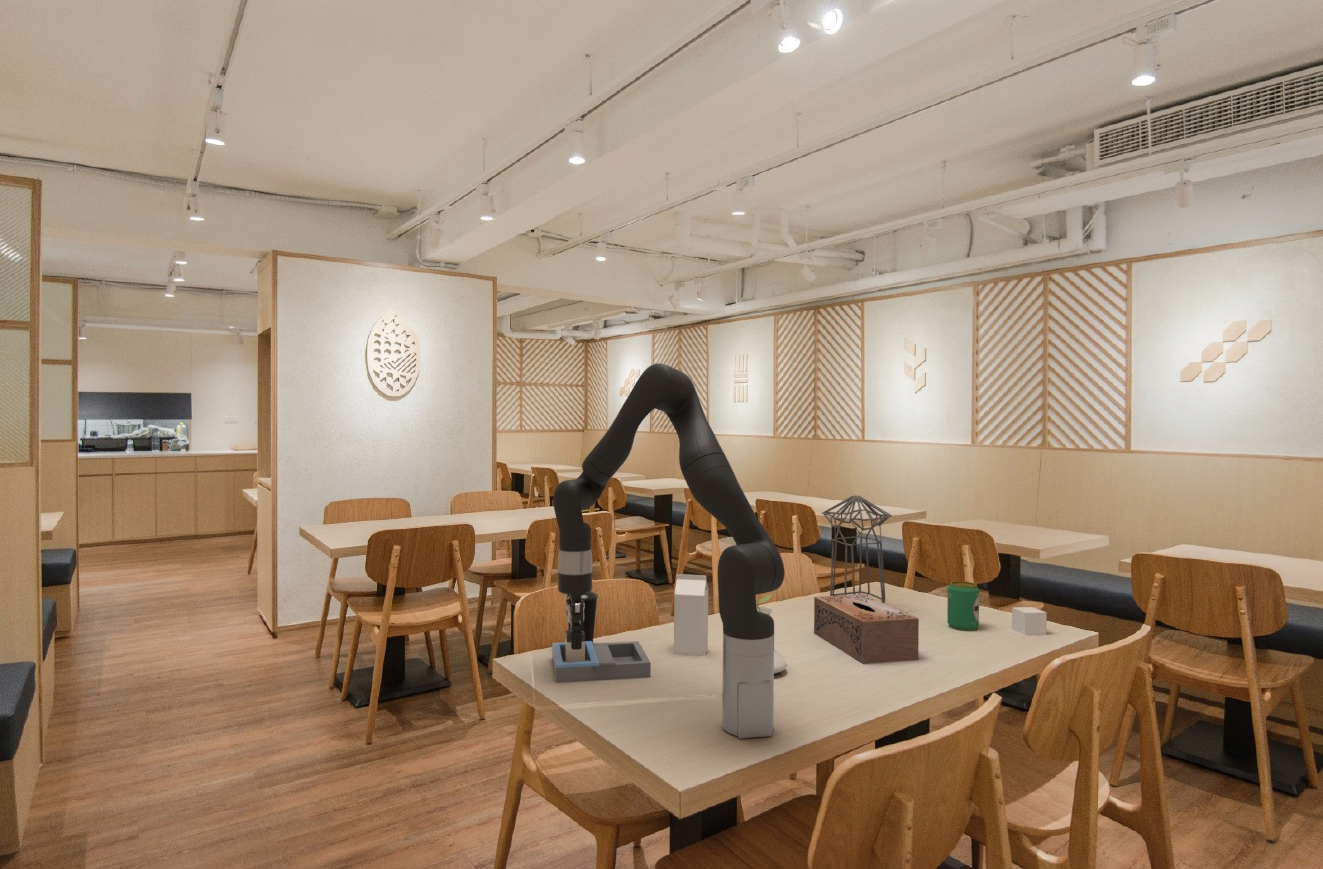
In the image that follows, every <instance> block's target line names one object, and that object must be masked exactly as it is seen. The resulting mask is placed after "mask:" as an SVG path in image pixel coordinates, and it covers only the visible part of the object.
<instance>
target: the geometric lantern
mask: <svg viewBox="0 0 1323 869" xmlns="http://www.w3.org/2000/svg"><path fill="white" fill-rule="evenodd" d="M856 503H857V507H858V509H856V510H855V506H856ZM843 504H844V505H843ZM840 506H841V507H840ZM838 507H840V508H839V509H838V510H837V511H833V510H834V509H836V508H838ZM861 507H862V508H863V509H862V508H861ZM846 510H847V511H846ZM863 511H864V512H865V513H866V514H867V516H868V518H863V514H862V512H863ZM854 513H856V514H855V515H854V516H853V514H854ZM821 514H822V515H823V516H824V517H825V518H826V519H827V521H828V522H829V524H830V526H831V527H832V528H834V538H832V539H831V541H832V542H831V560H830V563H831V567H830V587H829V588H830V591H829V596H840V595H857V594H858V595H860V594H864V595H867V596H869V595H870V597H871V596H872V597H873V598H876V599H879V600H881V602H882V603H885V604H886V601H887V600H886V586H885V571H884V570H885V569H884V556H883V544H882V543H883V540H882V528H881V526H882V525H883V524H884V523H885V522H886V521H887V520H889V518H890V517H892V516H893V515H892V514H890V513H888V512H887V511H886V510H883V509H882V508H881V507H880V506H877V505H875V504H874V503H872V502H871V501H869V500H867V499H866V498H864V497H862V496H861V495H851V496H849V497H847V498H846V499H845V500H842V501H841V502H839V503H837V504H835V505H833V506H832V507H830V508H828V509H826V510H824V511H823V512H821ZM843 515H844V517H843ZM848 515H849V518H848ZM872 515H873V516H875V518H873V516H872ZM828 516H829V517H830V518H829V517H828ZM858 516H859V517H858ZM833 520H834V523H833ZM878 520H879V521H878ZM837 521H838V522H839V523H838V524H837ZM856 521H861V525H859V523H857V522H856ZM868 521H870V525H871V526H870V527H864V522H868ZM843 523H845V524H852V526H853V527H854V528H855V530H857V532H858V535H856V536H847V537H846V536H844V535H843V533H842V531H841V526H842V524H843ZM877 526H878V527H879V537H880V540H879V539H878V537H877V535H876V532H875V527H877ZM857 527H858V528H857ZM836 529H837V530H836ZM859 529H860V530H861V531H860V530H859ZM867 530H868V531H867ZM864 531H867V533H866V535H865V536H864V535H862V533H863V532H864ZM871 531H872V534H873V536H874V538H875V539H874V538H871V537H869V536H870V533H871ZM839 535H840V536H841V537H838V536H839ZM846 539H854V540H853V542H852V544H851V543H847V541H846ZM858 539H859V543H856V541H857V540H858ZM863 539H865V542H863ZM839 540H843V541H839ZM868 540H872V541H875V542H868ZM838 543H839V544H842V545H845V546H844V547H845V548H844V549H845V553H844V554H845V556H844V561H845V562H844V592H839V593H835V586H836V585H835V584H836V582H835V580H836V566H837V565H836V564H837V554H838V553H837V552H838ZM868 545H876V549H877V560H878V561H877V562H878V573H879V584H880V594H881V595H880V596H881V597H880V596H878V595H875V594H874V593H871V591H870V590H871V588H870V587H871V586H870V566H869V563H870V562H869V547H868ZM854 546H859V577H858V578H859V579H858V580H859V583H858V584H859V585H858V590H857V591H856V585H855V584H856V582H855V581H856V580H855V562H854ZM863 546H865V556H866V578H867V592H866V591H862V563H863V562H862V560H863V559H862V554H863V553H862V552H863ZM848 547H850V551H851V555H850V556H851V571H852V572H851V574H852V576H851V577H852V591H850V592H847V588H848V587H847V582H848V581H847V580H848V579H847V578H848V577H847V576H848Z"/></svg>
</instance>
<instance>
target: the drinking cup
mask: <svg viewBox="0 0 1323 869" xmlns="http://www.w3.org/2000/svg"><path fill="white" fill-rule="evenodd" d="M581 598H583V599H584V601H585V608H584V621H583V627H584V629H583V630H584V633H585V641H592V644H594V634H595V624H596V613H597V612H596V611H597V603H598V598H599V594H598V593H596V592H594V591H593V590H591V591H590V592H589V593H583V594H582V595H581ZM566 599H567V595H566ZM578 625H580V623H578Z"/></svg>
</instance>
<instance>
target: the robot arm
mask: <svg viewBox="0 0 1323 869" xmlns="http://www.w3.org/2000/svg"><path fill="white" fill-rule="evenodd" d="M654 409H655V410H658V411H661V412H663V413H664V414H666V416H667V418H668V419H669V421H670V422H671V424H672V426H673V428H674V431H675V432H676V434H677V437H678V442H679V448H678V449H679V450H678V460H679V463H678V464H679V467H680V468H679V469H680V471H681V474H682V477H683V479H684V481H685V483H686V484H687V487H688V490H689V491H690V493H691V495H692V497H693V499H694V500H695V501H696V502H697V504H699V505H700V506H701V507H702V508H703V509H704V510H705V511H706V512H708V513H709V514H710V515H711V516H712V517H713V518H714V519H716V520H717V521H718V522H719V523H720V524H721V525H722V526H723V527H725V529H726V530H727V532H728V533H729V534H730V535H731V538H732V539H733V542H735V543H734V545H730V546H728V547H726V548H724V550H723V551H722V552H721V554H720V556H719V558H718V562H717V563H718V564H717V593H718V612H719V616H720V619H721V623H722V690H721V691H722V694H721V696H722V699H721V700H722V702H721V704H722V707H721V708H722V709H721V710H722V712H721V714H722V715H721V718H722V719H721V723H722V724H721V725H722V728H723V730H724V731H725V732H727V733H728V734H731V735H733V736H735V737H737V738H739V739H750V738H751V739H752V738H762V737H772V736H773V732H774V731H773V730H774V726H775V725H774V723H775V722H774V714H775V713H774V710H775V708H774V704H775V703H774V700H775V699H774V698H775V697H774V696H775V694H774V691H775V690H774V689H775V687H774V686H775V682H774V680H775V675H774V649H775V621H774V618H773V617H772V616H771V614H770V615H768V614H765V613H762V612H758V611H757V606H756V603H757V598H756V597H757V595H762V594H766V593H771V592H774V591H777V590H778V589H779V588H780V587H781V586H782V584H783V582H784V579H785V565H784V562H783V559H782V556H781V553H780V552H779V549H778V548H777V547H776V545H775V543H774V542H773V540H772V539H771V536H770V535H769V533H768V532H767V531H766V529H765V528H764V526H763V524H762V522H761V521H760V520H759V518H758V516H757V515H756V513H755V511H754V509H753V508H752V505H751V503H750V502H749V500H748V498H747V496H746V495H745V492H744V491H743V489H742V487H741V485H740V482H739V481H738V479H737V476H736V475H735V472H734V470H733V468H732V466H731V463H730V462H729V460H728V458H727V456H726V454H725V451H724V450H723V448H722V446H721V445H720V443H719V440H718V438H717V436H716V435H715V432H714V431H713V429H712V427H711V425H710V424H709V422H708V420H707V418H706V415H705V412H704V409H703V406H702V404H701V400H700V398H699V396H698V393H697V390H696V387H695V385H694V382H693V381H692V379H691V378H690V377H689V376H688V375H687V374H686V373H684V372H683V371H680V370H679V369H676V368H674V367H672V366H670V365H668V364H665V363H660V362H659V363H656V362H655V363H654V364H651V365H650V366H648V367H647V368H646V369H645V370H643V372H642V373H641V375H640V376H639V377H638V379H637V381H636V382H635V383H634V385H633V387H632V388H631V391H630V393H629V394H628V396H627V398H626V399H625V401H624V403H623V404H622V406H621V408H620V409H619V411H618V413H617V415H616V417H615V418H614V420H613V422H612V423H611V425H610V426H609V427H608V429H607V431H606V432H605V434H604V435H603V436H602V437H601V439H600V440H599V441H598V442H597V444H596V445H595V446H594V447H593V449H592V450H591V451H590V452H589V453H588V455H587V456H586V457H585V459H584V460H583V461H582V465H581V470H582V471H581V474H580V475H579V476H578V477H577V478H574V479H567V480H563V481H561V482H559V483H558V485H556V487H555V489H554V492H553V499H552V502H553V504H552V505H553V510H554V513H555V519H556V522H557V526H558V530H559V534H558V535H559V537H558V538H559V543H558V544H559V545H558V546H559V548H558V557H557V558H558V559H557V591H558V592H559V593H561V594H562V595H564V594H565V595H566V596H567V598H566V599H565V614H566V615H567V618H566V619H567V622H568V624H567V625H568V628H567V630H570V631H571V648H572V649H573V650H577V649H581V648H582V631H583V629H584V627H583V621H584V608H585V601H584V599H583V598H581V595H582V594H583V593H589V592H590V591H593V554H592V528H591V526H590V524H589V523H587V522H586V521H585V522H584V516H583V511H585V510H588V509H590V508H591V507H593V506H594V505H595V503H596V502H597V501H598V500H599V499H600V497H601V495H602V494H603V492H604V490H605V489H606V487H607V485H608V483H609V481H610V479H612V477H614V475H615V474H616V473H617V471H618V470H619V469H620V468H621V467H622V466H623V464H624V463H625V462H626V460H627V459H628V457H629V456H630V453H631V451H632V448H633V446H634V441H635V437H636V434H637V431H638V429H639V427H640V425H641V424H642V422H643V421H644V419H645V418H646V417H647V416H649V414H651V412H653V411H654ZM578 623H580V625H578Z"/></svg>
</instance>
